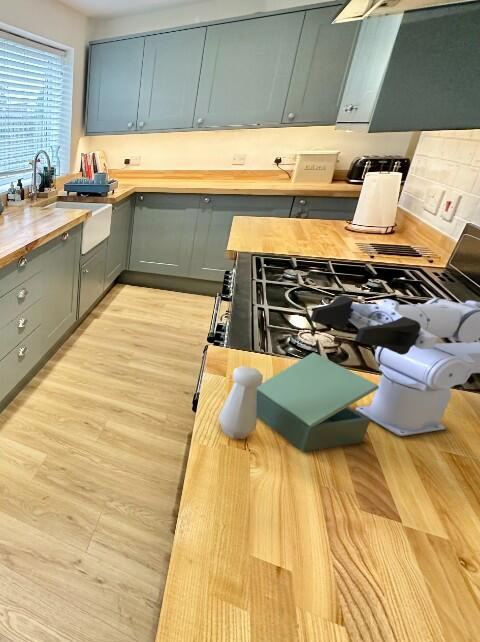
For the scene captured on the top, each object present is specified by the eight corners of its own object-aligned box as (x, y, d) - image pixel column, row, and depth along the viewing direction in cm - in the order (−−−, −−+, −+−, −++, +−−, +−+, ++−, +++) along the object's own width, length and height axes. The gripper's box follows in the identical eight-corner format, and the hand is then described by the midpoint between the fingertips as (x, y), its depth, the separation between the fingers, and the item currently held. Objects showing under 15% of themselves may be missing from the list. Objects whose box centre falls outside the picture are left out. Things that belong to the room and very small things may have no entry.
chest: (302, 403, 83) (308, 382, 81) (362, 442, 72) (370, 419, 70) (250, 411, 81) (255, 390, 80) (302, 451, 71) (309, 428, 69)
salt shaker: (259, 444, 73) (275, 380, 68) (223, 441, 74) (237, 378, 69) (245, 423, 78) (260, 362, 73) (212, 420, 79) (224, 361, 74)
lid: (314, 354, 79) (313, 351, 78) (379, 388, 68) (378, 385, 68) (256, 389, 80) (255, 386, 79) (311, 428, 69) (310, 425, 69)
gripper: (370, 284, 74) (303, 286, 72) (472, 317, 60) (394, 320, 59) (355, 321, 76) (290, 323, 74) (451, 359, 63) (374, 364, 61)
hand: (335, 325), depth 67 cm, fingers open, 7 cm apart
